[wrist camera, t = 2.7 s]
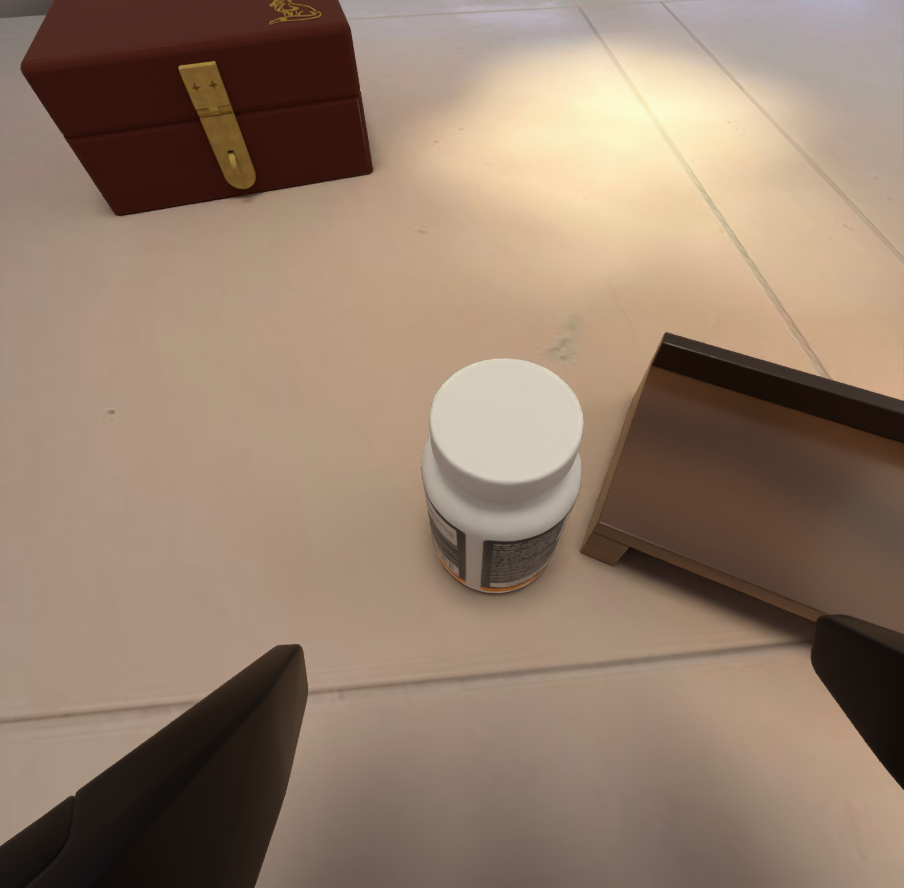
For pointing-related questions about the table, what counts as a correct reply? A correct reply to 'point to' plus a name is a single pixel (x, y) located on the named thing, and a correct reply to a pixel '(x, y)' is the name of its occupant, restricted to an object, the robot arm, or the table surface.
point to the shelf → (761, 483)
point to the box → (201, 96)
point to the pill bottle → (501, 471)
